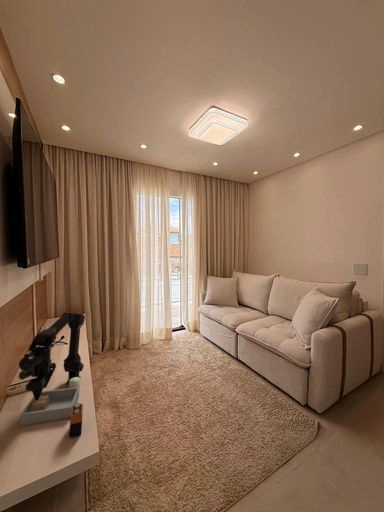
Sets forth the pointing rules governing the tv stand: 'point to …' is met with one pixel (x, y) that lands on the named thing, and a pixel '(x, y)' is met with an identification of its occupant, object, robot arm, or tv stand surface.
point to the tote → (51, 407)
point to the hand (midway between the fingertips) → (41, 393)
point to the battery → (76, 420)
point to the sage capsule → (74, 382)
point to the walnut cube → (40, 403)
